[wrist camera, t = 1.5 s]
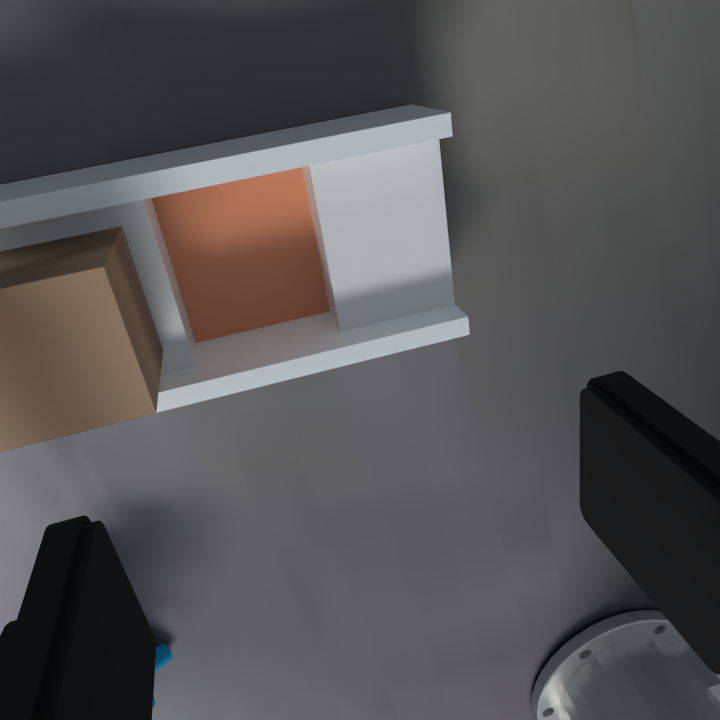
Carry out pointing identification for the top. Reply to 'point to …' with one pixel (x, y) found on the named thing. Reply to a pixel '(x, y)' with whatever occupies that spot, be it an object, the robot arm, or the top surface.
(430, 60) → the top surface
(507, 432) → the top surface
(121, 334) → the block
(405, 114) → the trough
